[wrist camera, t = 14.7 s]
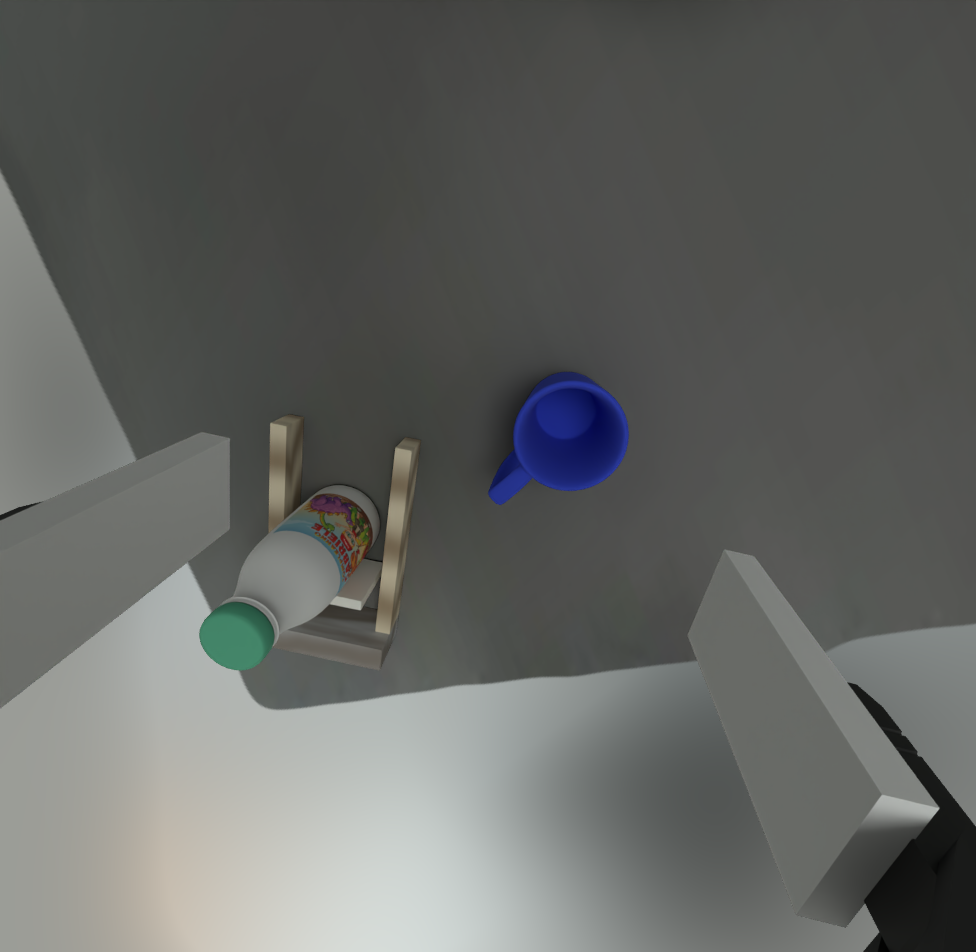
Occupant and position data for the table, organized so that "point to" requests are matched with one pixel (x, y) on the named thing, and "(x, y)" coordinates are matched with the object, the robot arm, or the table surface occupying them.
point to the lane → (369, 629)
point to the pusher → (359, 585)
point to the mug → (563, 438)
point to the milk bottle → (292, 575)
